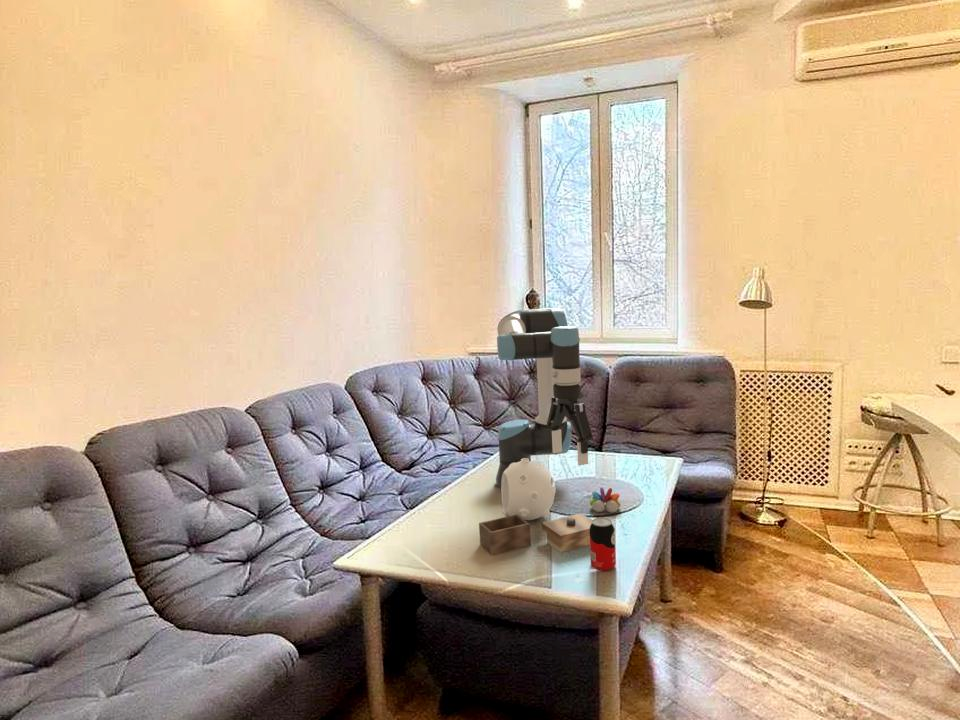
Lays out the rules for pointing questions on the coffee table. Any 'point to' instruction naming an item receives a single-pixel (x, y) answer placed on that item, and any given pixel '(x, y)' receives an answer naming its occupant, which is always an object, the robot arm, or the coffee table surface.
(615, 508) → the rainbow disc baby toy
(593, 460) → the coffee table surface
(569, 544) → the light wooden block
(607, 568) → the beverage can
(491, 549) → the box
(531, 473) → the decorative ball
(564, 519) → the lid
